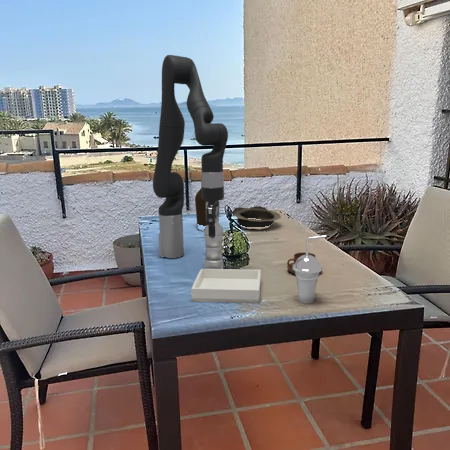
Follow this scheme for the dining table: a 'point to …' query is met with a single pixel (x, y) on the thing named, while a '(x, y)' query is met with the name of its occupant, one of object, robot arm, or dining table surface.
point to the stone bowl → (255, 216)
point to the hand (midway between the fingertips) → (213, 233)
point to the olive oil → (201, 209)
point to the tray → (227, 286)
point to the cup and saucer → (295, 261)
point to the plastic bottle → (214, 247)
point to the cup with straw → (307, 274)
